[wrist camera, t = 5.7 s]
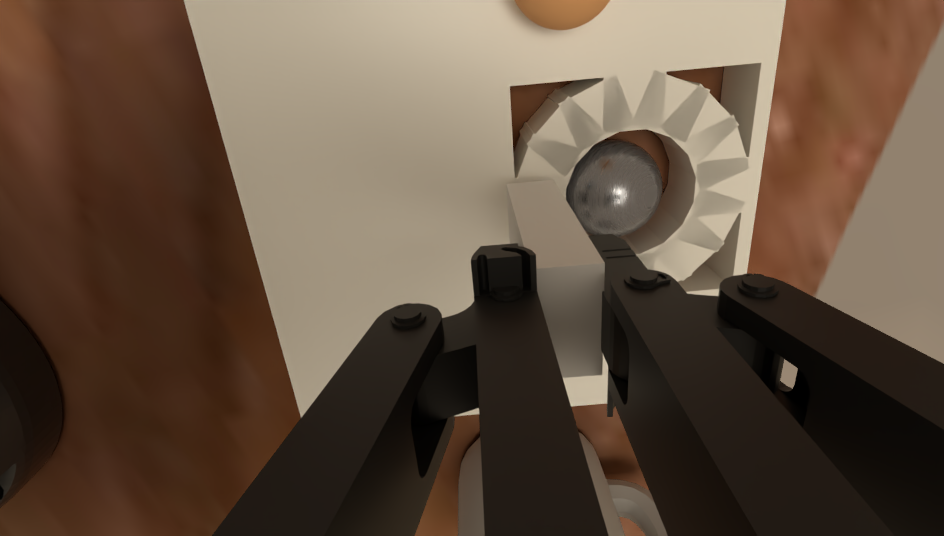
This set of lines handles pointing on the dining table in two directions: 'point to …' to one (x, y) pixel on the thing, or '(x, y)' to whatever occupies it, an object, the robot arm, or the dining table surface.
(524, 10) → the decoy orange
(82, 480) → the dining table surface
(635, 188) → the ball
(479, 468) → the cup
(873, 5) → the dining table surface
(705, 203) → the board
